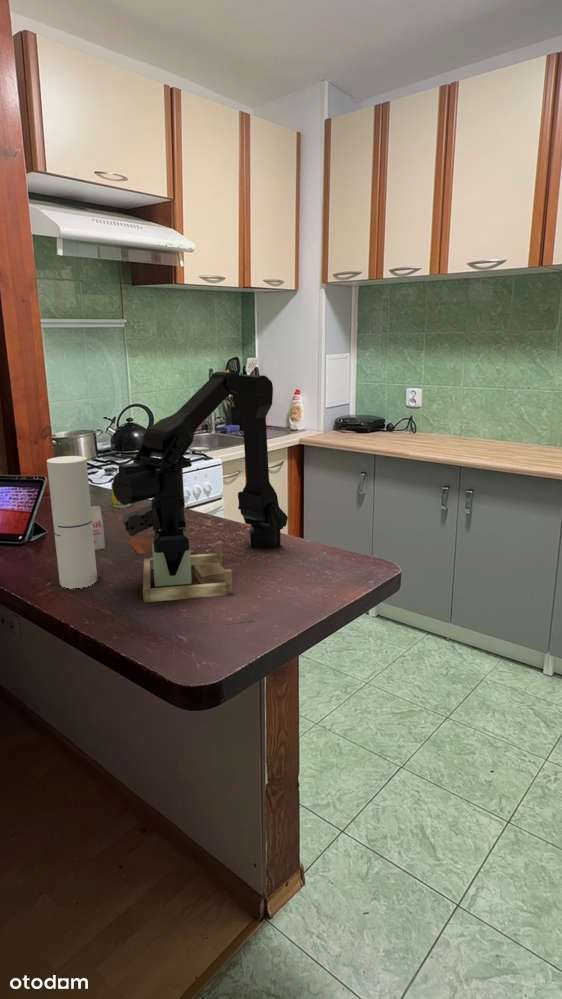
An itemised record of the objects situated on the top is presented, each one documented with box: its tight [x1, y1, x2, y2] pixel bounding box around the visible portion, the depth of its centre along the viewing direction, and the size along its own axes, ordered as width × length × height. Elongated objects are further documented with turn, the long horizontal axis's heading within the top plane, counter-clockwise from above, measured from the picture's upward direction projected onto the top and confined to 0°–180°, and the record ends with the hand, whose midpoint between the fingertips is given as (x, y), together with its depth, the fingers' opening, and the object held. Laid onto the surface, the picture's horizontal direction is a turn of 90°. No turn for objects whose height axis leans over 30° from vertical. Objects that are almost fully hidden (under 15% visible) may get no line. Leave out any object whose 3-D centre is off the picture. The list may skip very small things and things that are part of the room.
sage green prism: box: [152, 538, 193, 588], centre depth 116 cm, size 7×4×10 cm, turn 102°
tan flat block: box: [194, 562, 226, 584], centre depth 118 cm, size 5×6×2 cm
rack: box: [142, 541, 233, 603], centre depth 117 cm, size 16×17×6 cm
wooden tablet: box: [128, 532, 155, 554], centre depth 138 cm, size 27×10×2 cm, turn 26°
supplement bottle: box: [111, 472, 133, 509], centre depth 175 cm, size 5×5×10 cm
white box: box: [91, 505, 106, 551], centre depth 139 cm, size 4×7×10 cm, turn 118°
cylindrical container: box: [46, 455, 98, 590], centre depth 118 cm, size 7×7×25 cm
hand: (172, 571), depth 117 cm, fingers closed on sage green prism, 3 cm apart
